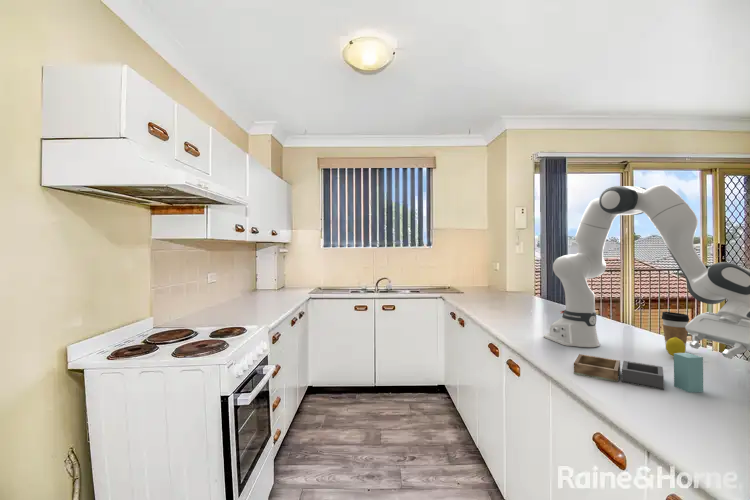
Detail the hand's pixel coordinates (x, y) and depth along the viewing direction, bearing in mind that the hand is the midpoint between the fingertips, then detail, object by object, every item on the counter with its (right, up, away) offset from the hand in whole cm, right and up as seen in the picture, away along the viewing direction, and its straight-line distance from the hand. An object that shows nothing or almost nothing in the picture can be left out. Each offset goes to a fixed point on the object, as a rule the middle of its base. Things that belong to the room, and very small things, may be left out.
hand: (708, 351), depth 101 cm
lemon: (+14, -11, +27) cm, 32 cm away
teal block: (-6, -11, 0) cm, 13 cm away
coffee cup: (+22, -10, +36) cm, 44 cm away
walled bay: (-24, -11, +14) cm, 30 cm away
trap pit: (-15, -11, +6) cm, 19 cm away
